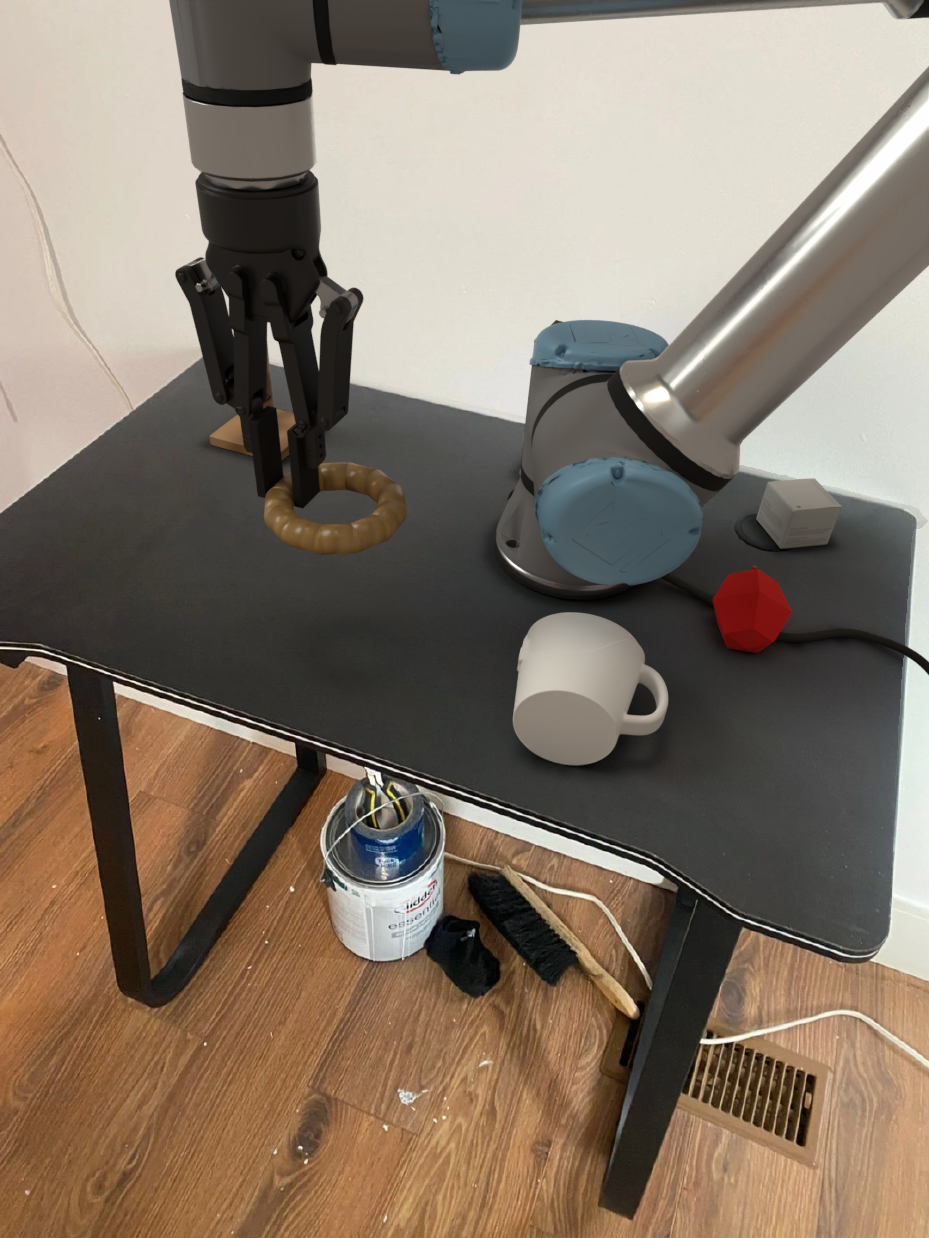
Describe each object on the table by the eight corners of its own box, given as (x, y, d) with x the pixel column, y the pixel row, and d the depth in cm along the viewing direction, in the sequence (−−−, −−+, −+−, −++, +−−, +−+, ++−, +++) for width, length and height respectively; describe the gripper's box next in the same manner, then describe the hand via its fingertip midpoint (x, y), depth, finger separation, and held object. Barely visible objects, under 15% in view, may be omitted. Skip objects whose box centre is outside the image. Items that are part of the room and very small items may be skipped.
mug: (498, 750, 72) (506, 677, 67) (522, 671, 79) (531, 599, 74) (651, 785, 70) (672, 713, 65) (662, 701, 77) (681, 629, 72)
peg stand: (319, 428, 109) (311, 302, 99) (279, 463, 102) (266, 332, 92) (253, 411, 111) (239, 286, 101) (210, 445, 105) (190, 315, 95)
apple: (793, 631, 76) (797, 551, 80) (708, 625, 78) (716, 548, 82) (787, 669, 82) (791, 593, 86) (709, 663, 84) (716, 589, 88)
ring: (427, 500, 74) (428, 476, 73) (367, 575, 66) (366, 550, 65) (310, 469, 77) (308, 446, 75) (238, 537, 69) (235, 513, 68)
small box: (829, 545, 95) (844, 505, 92) (779, 550, 94) (792, 510, 91) (801, 514, 100) (815, 475, 96) (753, 519, 98) (765, 480, 95)
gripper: (396, 174, 57) (399, 493, 73) (185, 141, 61) (230, 449, 77) (339, 207, 52) (355, 544, 67) (112, 168, 56) (176, 493, 71)
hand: (289, 493), depth 72 cm, fingers closed on ring, 2 cm apart
